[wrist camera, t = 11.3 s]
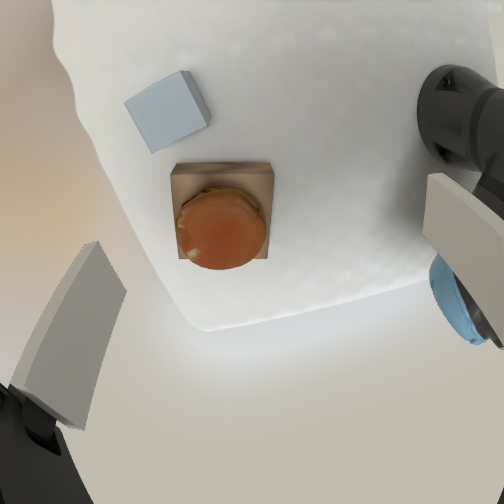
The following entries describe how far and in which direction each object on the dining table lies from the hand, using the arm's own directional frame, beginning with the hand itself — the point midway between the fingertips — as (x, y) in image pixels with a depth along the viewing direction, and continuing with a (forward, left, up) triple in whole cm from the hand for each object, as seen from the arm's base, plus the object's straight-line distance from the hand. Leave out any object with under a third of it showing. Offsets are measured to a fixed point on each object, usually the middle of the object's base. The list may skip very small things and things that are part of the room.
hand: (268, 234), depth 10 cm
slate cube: (+7, -3, -24) cm, 25 cm away
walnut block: (+4, +10, -24) cm, 27 cm away
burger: (+4, +10, -20) cm, 23 cm away
